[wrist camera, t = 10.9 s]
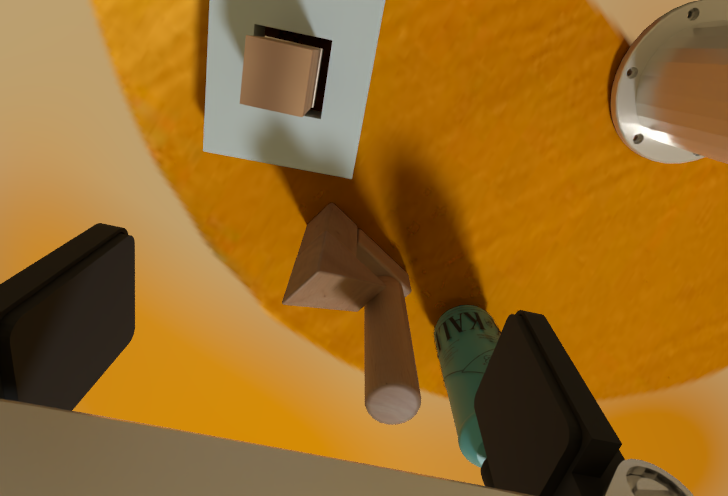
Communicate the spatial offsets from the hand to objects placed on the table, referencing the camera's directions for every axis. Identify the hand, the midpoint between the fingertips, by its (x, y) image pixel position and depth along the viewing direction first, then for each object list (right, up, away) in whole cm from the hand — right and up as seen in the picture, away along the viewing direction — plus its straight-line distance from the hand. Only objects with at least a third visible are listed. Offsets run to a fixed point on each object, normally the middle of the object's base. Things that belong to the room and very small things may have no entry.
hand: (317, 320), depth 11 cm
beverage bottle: (+11, -6, +36) cm, 38 cm away
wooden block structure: (+1, +2, +32) cm, 32 cm away
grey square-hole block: (-4, +16, +25) cm, 31 cm away
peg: (-4, +16, +25) cm, 31 cm away
